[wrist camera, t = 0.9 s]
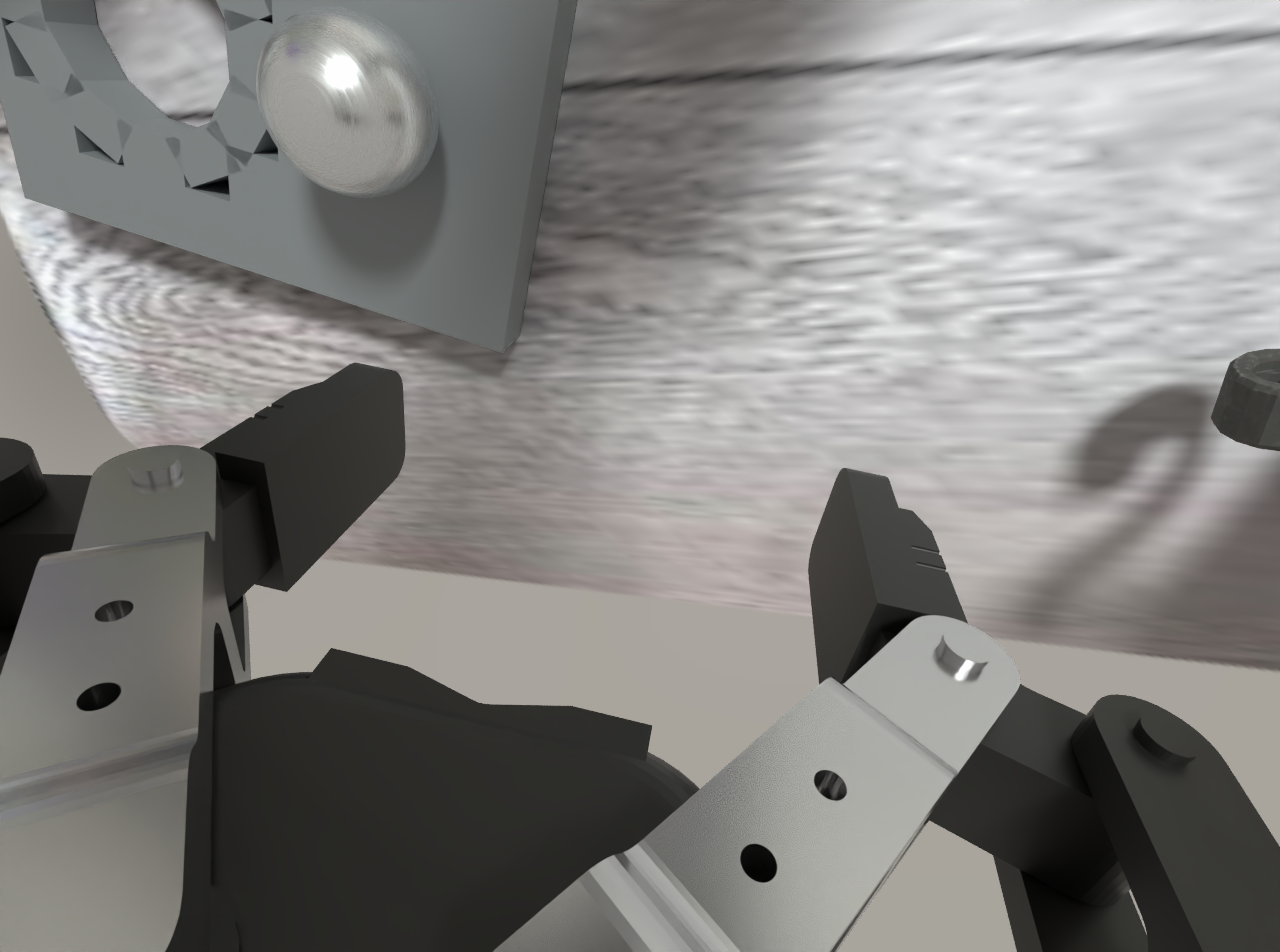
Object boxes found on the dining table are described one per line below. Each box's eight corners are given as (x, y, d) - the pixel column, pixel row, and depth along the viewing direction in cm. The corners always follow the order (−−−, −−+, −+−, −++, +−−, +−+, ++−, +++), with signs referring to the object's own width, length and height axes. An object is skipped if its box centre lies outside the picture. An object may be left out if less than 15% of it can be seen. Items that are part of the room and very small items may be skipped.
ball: (321, -8, 24) (204, -30, 19) (472, 41, 24) (394, 31, 19) (322, 161, 28) (222, 180, 23) (455, 204, 28) (385, 233, 23)
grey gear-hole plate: (-37, -330, 23) (-117, -371, 21) (599, -124, 23) (581, -145, 21) (72, 190, 33) (25, 197, 31) (519, 335, 33) (502, 353, 31)
